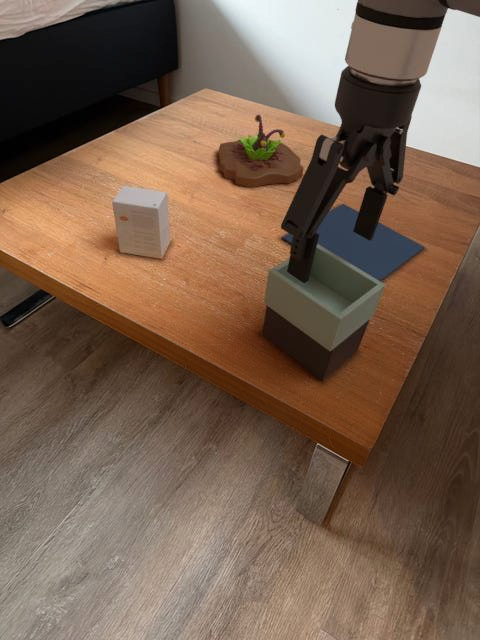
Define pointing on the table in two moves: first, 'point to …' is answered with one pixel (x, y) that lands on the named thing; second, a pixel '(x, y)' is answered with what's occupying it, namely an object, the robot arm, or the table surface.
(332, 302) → the green open bin
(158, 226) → the small box
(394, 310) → the table surface
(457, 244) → the table surface
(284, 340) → the bin lower
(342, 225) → the mat
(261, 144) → the plant
